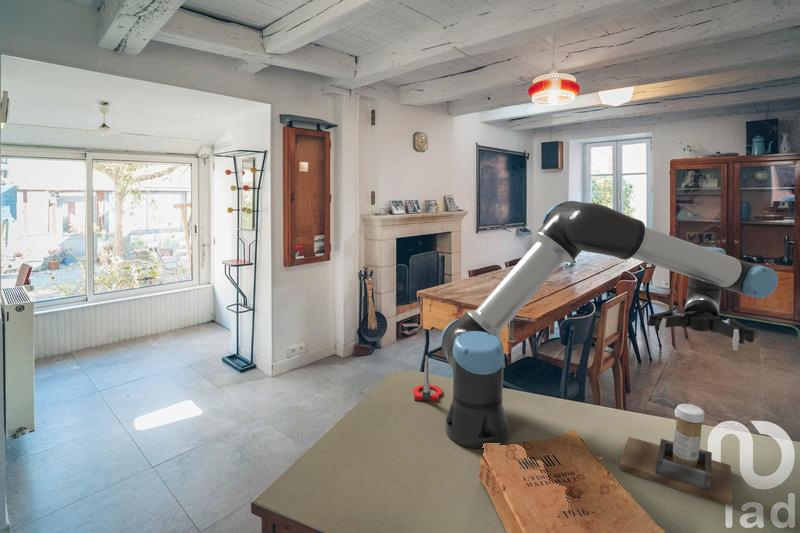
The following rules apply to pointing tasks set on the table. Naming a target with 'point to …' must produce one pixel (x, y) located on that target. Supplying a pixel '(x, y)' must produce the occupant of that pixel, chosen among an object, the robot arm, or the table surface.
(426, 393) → the tow hook
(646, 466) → the cup bracket
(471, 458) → the table surface
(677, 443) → the sprinkles bottle
